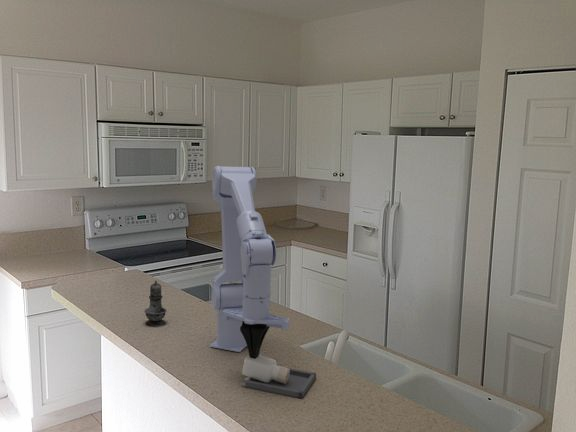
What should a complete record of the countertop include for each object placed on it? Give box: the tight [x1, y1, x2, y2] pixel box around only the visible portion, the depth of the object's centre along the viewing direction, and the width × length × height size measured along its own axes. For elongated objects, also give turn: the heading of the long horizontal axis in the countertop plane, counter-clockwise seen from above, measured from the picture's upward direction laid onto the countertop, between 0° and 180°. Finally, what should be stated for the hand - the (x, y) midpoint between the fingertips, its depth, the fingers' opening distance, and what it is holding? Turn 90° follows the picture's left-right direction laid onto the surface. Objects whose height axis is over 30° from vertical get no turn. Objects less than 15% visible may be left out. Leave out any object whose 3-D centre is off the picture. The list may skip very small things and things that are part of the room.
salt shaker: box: [143, 280, 168, 328], centre depth 144 cm, size 6×6×12 cm
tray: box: [241, 365, 317, 400], centre depth 113 cm, size 10×13×1 cm
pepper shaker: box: [242, 354, 290, 384], centre depth 113 cm, size 4×4×10 cm
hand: (254, 356), depth 114 cm, fingers closed
